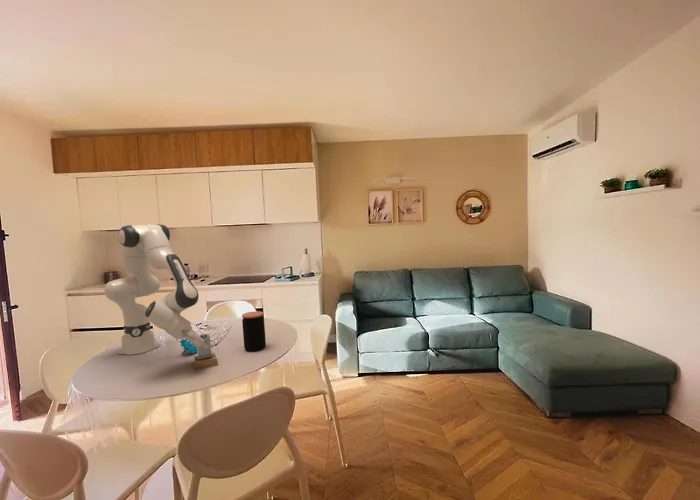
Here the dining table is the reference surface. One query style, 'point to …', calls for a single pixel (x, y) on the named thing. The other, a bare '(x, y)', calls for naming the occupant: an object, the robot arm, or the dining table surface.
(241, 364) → the dining table surface
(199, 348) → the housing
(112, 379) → the dining table surface
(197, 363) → the stand
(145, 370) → the dining table surface
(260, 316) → the coffee jar
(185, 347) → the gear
